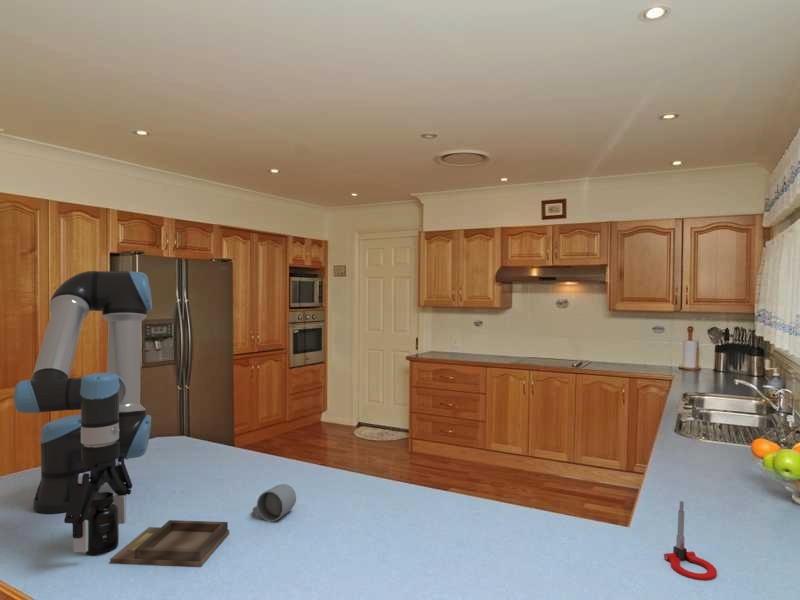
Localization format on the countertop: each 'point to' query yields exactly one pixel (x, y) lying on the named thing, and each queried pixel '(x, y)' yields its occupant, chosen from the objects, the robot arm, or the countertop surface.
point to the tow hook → (687, 555)
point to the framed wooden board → (174, 544)
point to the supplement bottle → (102, 524)
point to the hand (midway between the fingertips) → (101, 536)
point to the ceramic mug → (275, 502)
